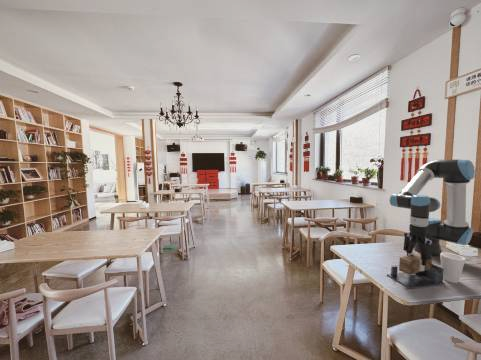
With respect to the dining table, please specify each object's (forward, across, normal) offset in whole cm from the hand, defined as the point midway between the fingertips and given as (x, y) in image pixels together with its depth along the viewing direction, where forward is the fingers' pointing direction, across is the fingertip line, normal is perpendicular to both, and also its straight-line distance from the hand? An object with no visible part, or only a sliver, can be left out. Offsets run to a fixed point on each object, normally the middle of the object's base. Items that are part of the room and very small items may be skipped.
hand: (415, 267), depth 118 cm
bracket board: (+7, 0, 0) cm, 7 cm away
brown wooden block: (+1, 0, 0) cm, 1 cm away
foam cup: (+7, +4, +19) cm, 20 cm away
